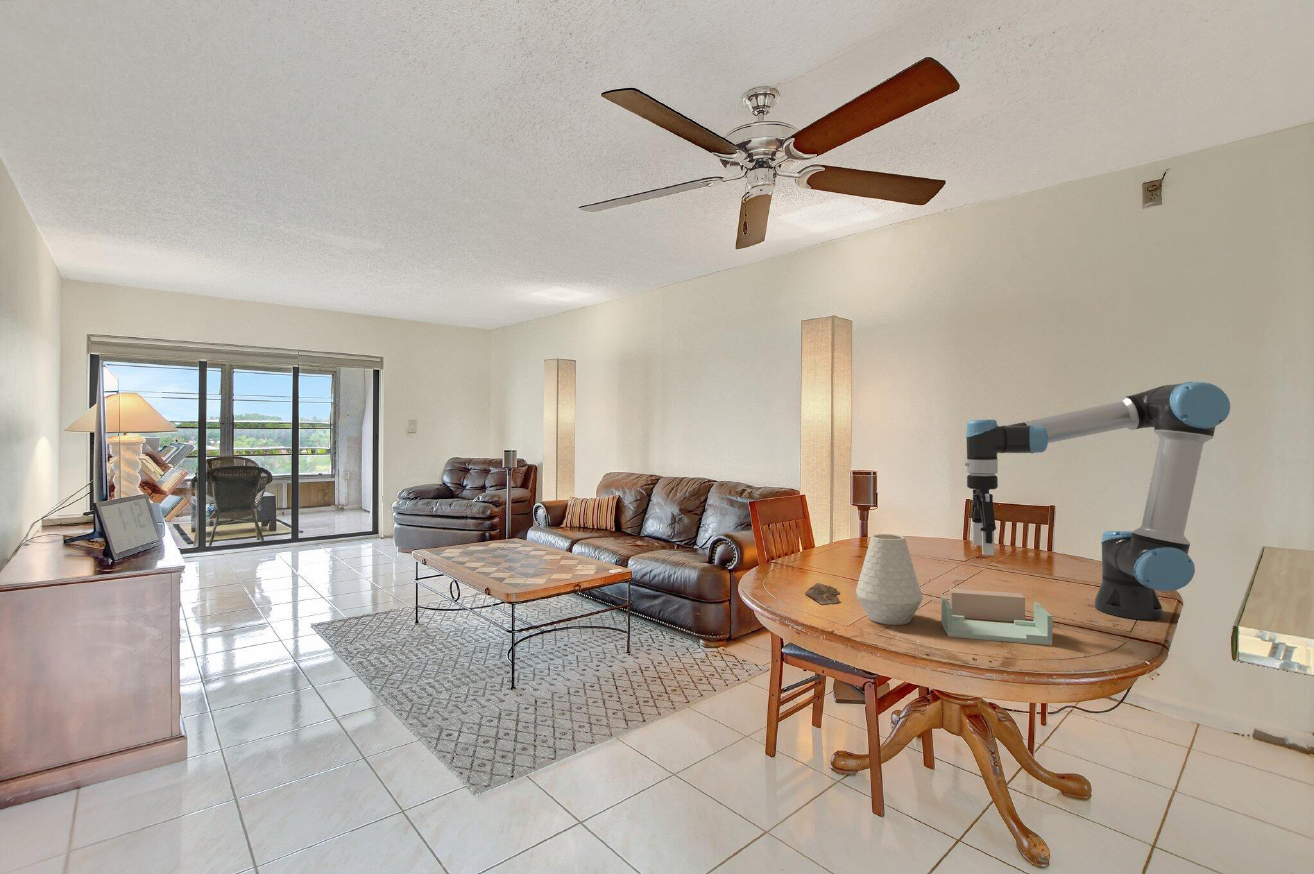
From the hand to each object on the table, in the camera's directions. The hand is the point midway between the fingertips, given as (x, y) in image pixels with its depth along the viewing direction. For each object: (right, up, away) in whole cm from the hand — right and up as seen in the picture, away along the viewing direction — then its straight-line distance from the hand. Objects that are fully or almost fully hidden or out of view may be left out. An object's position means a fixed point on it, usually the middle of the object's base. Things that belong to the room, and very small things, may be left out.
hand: (983, 550), depth 165 cm
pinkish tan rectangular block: (+1, -19, 0) cm, 19 cm away
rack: (-5, -19, -13) cm, 24 cm away
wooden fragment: (-38, -19, +25) cm, 50 cm away
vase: (-27, -19, -1) cm, 33 cm away
